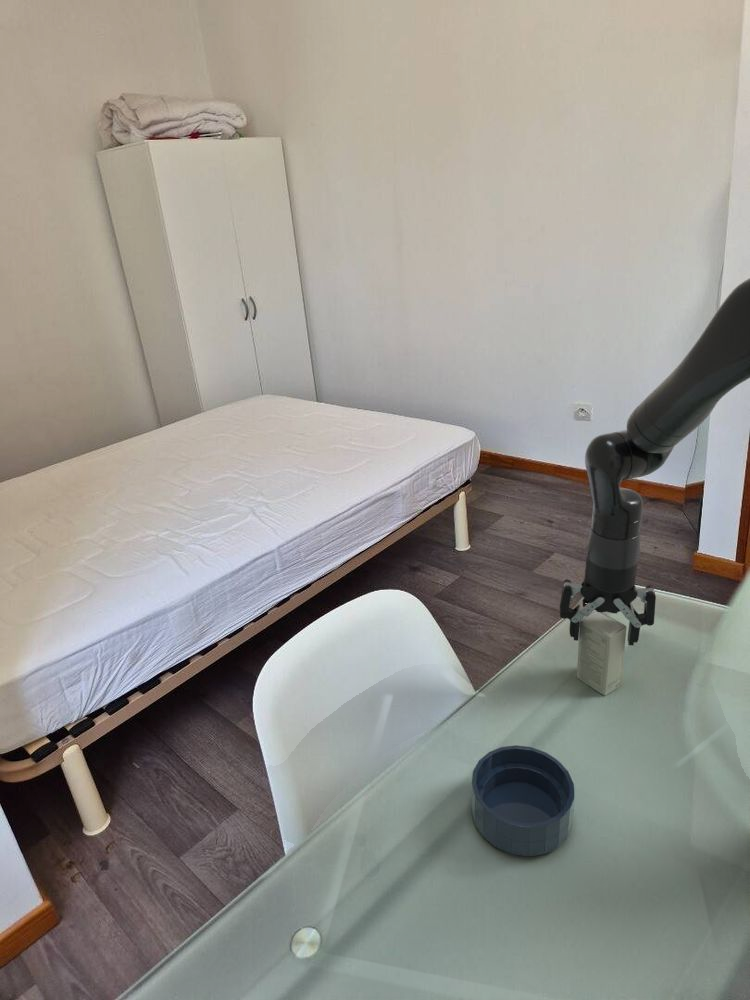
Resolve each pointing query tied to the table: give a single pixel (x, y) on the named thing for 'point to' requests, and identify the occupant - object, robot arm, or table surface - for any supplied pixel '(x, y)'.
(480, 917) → the table surface
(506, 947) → the table surface
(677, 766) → the table surface
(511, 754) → the bowl
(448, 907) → the table surface
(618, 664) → the cosmetic box
